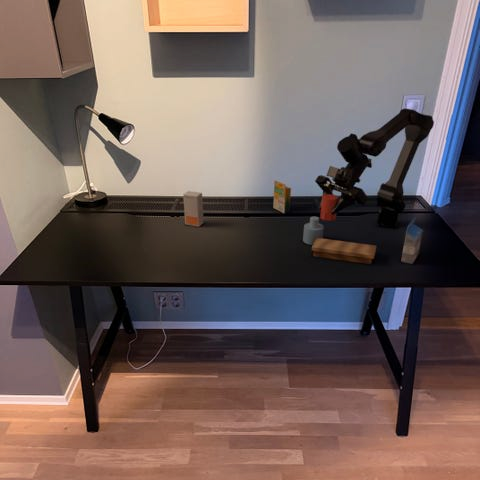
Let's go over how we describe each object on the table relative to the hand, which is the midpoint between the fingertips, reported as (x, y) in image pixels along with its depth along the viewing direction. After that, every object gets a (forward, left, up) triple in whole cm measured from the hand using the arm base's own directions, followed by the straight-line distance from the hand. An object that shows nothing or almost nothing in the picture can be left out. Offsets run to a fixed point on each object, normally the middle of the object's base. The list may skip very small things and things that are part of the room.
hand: (325, 211), depth 149 cm
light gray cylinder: (+4, -6, -13) cm, 15 cm away
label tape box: (-29, -3, -14) cm, 32 cm away
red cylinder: (-1, -1, -2) cm, 3 cm away
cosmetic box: (+50, -7, -14) cm, 53 cm away
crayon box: (+22, -31, -14) cm, 41 cm away
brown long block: (-8, +3, -13) cm, 16 cm away
